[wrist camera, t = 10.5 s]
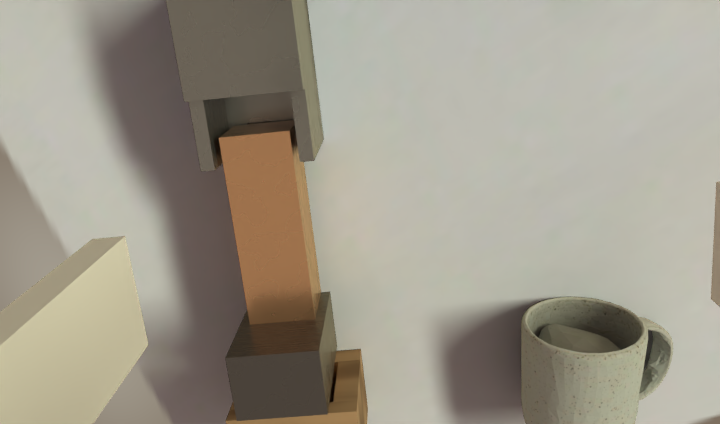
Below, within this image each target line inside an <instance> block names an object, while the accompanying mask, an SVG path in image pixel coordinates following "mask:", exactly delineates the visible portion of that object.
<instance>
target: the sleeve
mask: <svg viewBox="0 0 720 424" xmlns="http://www.w3.org/2000/svg"><path fill="white" fill-rule="evenodd" d="M166 4H167V9H168V15H169V21H170V26H171V32H172V37H173V43H174V48H175V54H176V60H177V65H178V71H179V76H180V82H181V88H182V93H183V99H184V102H189V107H190V113H191V118H192V124H193V130H194V135H195V141H196V146H197V152H198V158H199V163H200V169H201V172H202V171H213V170H216V169H217V168H218V167H219V166H220V165H221V164H222V163H223V161H222V155H221V149H220V143H219V137H220V136H222V135H223V134H224V133H225V132H227V131H228V130H229V129H231V128H232V127H233V126H239V125H248V124H258V123H268V122H278V121H288V120H294V123H295V130H296V138H297V145H298V153H299V160H300V162H305V161H314V160H315V157H316V155H317V153H318V151H319V149H320V146H321V144H322V142H323V140H324V137H323V129H322V121H321V113H320V105H319V97H318V88H317V80H316V72H315V64H314V56H313V48H312V39H311V31H310V23H309V15H308V7H307V0H166Z"/></svg>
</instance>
